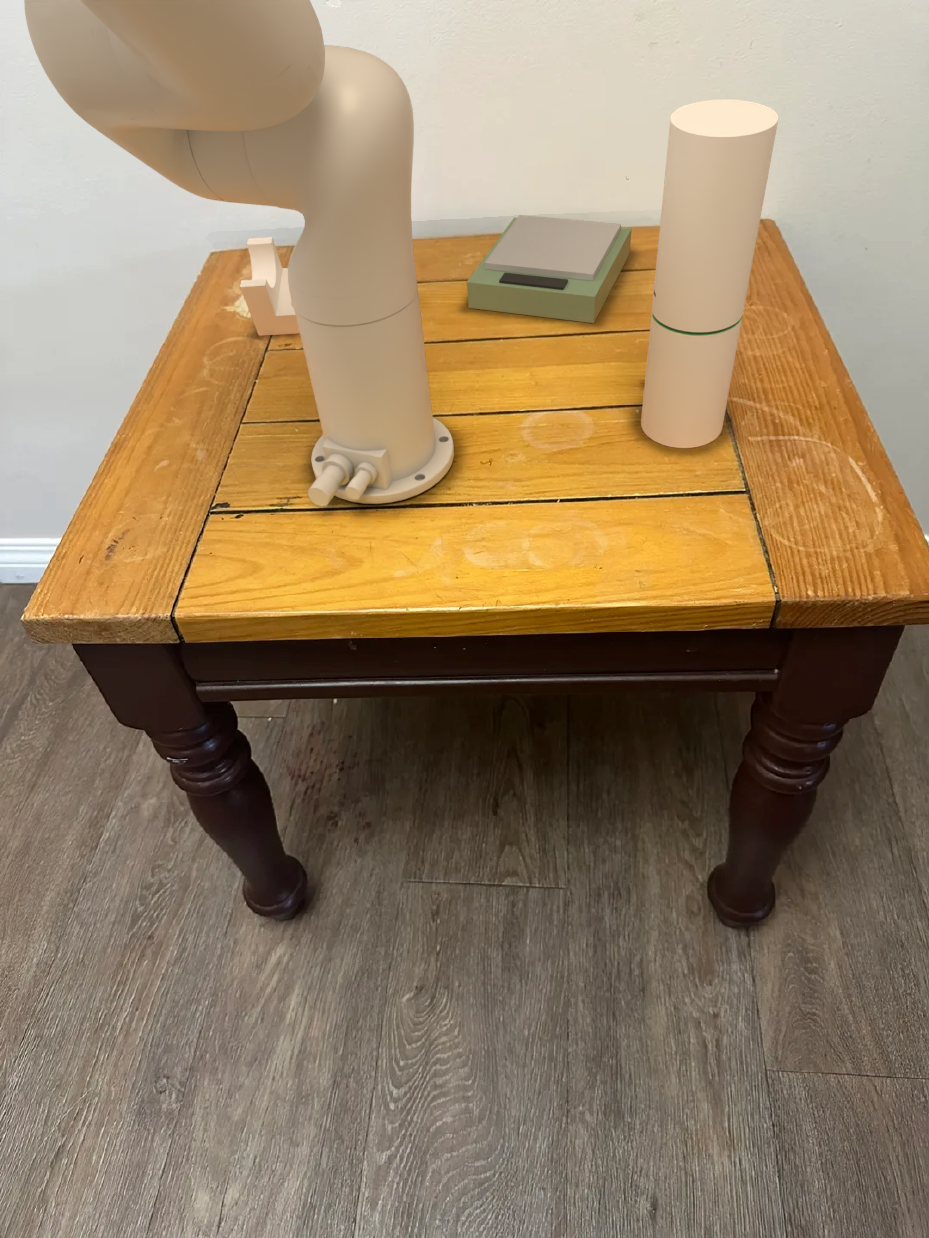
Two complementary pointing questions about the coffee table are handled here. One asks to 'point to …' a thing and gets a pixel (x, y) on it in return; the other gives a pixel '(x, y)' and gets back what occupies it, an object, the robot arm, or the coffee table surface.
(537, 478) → the coffee table surface
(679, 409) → the cylindrical container
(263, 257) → the bracket
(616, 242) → the kitchen scale
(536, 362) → the coffee table surface
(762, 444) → the coffee table surface
